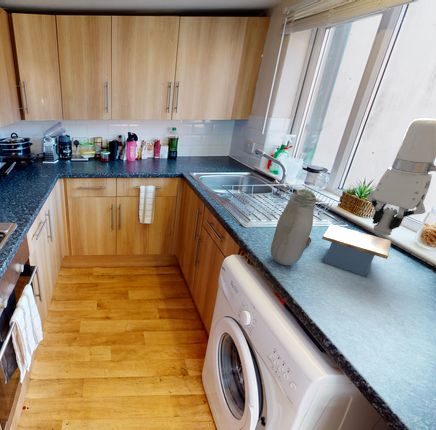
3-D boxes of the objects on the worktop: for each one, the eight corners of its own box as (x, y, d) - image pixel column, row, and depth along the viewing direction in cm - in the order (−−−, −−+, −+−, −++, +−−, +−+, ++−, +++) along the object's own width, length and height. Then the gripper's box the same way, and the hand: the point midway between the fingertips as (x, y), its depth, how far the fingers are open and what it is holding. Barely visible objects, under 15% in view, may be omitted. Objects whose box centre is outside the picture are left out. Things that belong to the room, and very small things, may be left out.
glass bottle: (296, 273, 99) (322, 198, 88) (264, 262, 105) (285, 191, 93) (300, 260, 107) (325, 190, 95) (270, 251, 112) (290, 183, 100)
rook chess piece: (376, 235, 86) (387, 211, 82) (368, 228, 90) (378, 205, 86) (394, 237, 85) (405, 212, 82) (384, 230, 89) (395, 206, 86)
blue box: (368, 262, 106) (378, 241, 103) (364, 276, 99) (375, 254, 95) (330, 250, 114) (338, 230, 110) (324, 262, 106) (332, 241, 102)
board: (389, 243, 101) (391, 240, 101) (386, 259, 92) (388, 255, 92) (329, 226, 113) (330, 224, 112) (321, 239, 104) (322, 236, 103)
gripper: (459, 172, 73) (426, 234, 81) (381, 158, 87) (359, 213, 95) (446, 175, 70) (413, 240, 78) (368, 160, 84) (346, 217, 92)
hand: (384, 225), depth 86 cm, fingers closed on rook chess piece, 3 cm apart
